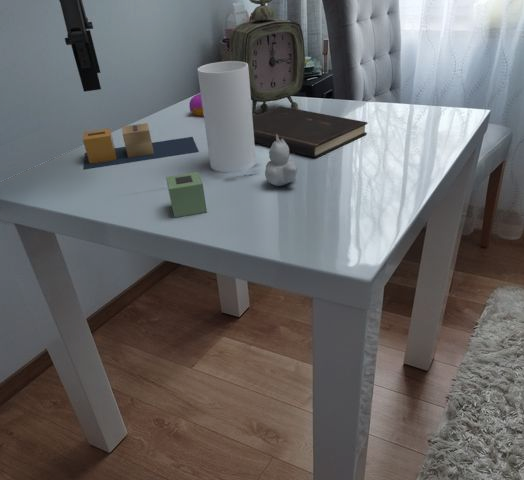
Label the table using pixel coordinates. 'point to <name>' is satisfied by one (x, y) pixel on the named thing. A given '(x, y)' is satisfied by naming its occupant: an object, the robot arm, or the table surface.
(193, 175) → the pale green block
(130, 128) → the light wooden block
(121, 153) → the word mat
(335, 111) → the table surface
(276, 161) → the rubber duck
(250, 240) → the table surface
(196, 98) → the purple rounded lump
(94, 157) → the amber wooden block
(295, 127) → the hardcover book
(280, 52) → the tabletop clock
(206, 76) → the cup
